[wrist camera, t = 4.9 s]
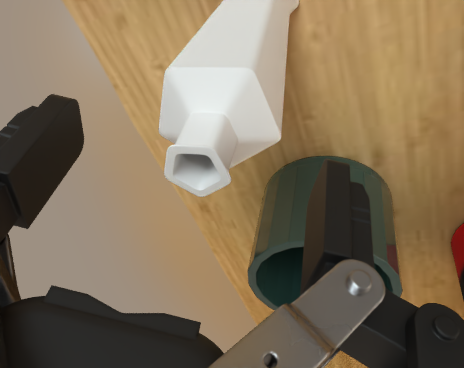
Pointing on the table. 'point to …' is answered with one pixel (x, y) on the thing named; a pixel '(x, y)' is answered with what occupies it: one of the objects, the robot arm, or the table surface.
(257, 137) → the perfume bottle
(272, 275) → the teal plastic cup
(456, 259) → the soda can
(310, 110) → the table surface
